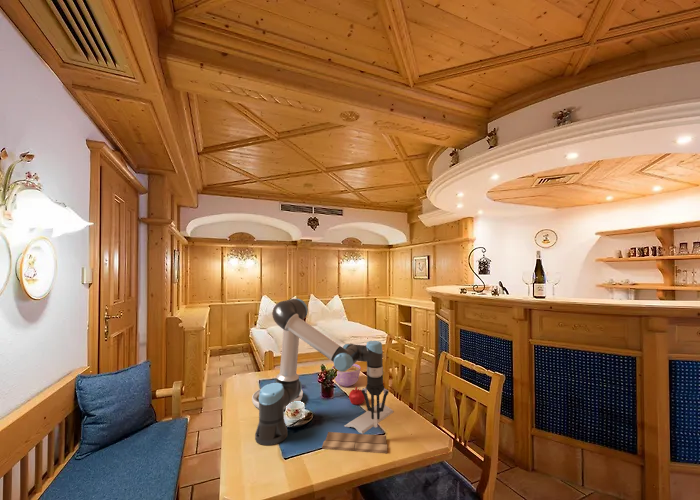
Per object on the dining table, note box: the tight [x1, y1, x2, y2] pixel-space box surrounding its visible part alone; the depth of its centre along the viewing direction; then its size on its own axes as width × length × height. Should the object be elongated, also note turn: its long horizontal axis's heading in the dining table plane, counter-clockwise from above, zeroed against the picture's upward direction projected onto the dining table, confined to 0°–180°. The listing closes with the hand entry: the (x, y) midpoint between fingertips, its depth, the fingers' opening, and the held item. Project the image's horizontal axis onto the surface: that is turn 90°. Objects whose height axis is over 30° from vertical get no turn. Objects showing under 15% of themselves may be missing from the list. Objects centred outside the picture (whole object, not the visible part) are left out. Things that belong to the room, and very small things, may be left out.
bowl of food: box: [331, 363, 361, 388], centre depth 217 cm, size 20×20×12 cm
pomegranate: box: [348, 386, 365, 405], centre depth 189 cm, size 10×10×9 cm
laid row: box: [321, 439, 388, 454], centre depth 142 cm, size 29×5×1 cm, turn 82°
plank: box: [325, 431, 387, 445], centre depth 148 cm, size 28×6×1 cm, turn 82°
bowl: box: [251, 387, 304, 411], centre depth 191 cm, size 30×30×8 cm
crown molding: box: [343, 402, 394, 434], centre depth 169 cm, size 29×12×4 cm, turn 141°
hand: (375, 425), depth 148 cm, fingers closed
